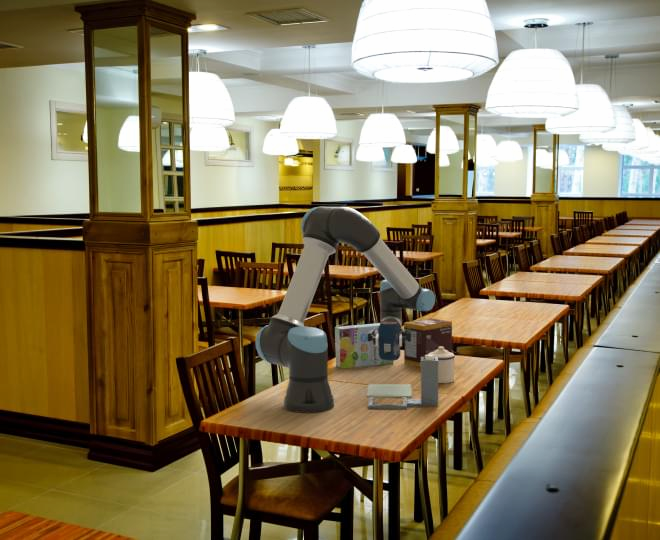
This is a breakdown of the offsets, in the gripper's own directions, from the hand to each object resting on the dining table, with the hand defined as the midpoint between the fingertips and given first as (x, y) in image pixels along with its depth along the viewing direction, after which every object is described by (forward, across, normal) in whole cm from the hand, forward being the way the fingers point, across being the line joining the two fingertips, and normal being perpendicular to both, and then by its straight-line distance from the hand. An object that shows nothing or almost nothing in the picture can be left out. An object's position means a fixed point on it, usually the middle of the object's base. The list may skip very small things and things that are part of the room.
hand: (388, 342), depth 238 cm
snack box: (-42, +10, -18) cm, 47 cm away
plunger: (+9, -12, -8) cm, 17 cm away
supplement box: (-47, -13, -18) cm, 52 cm away
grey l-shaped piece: (+10, -4, -17) cm, 20 cm away
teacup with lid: (-20, -16, -18) cm, 31 cm away
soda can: (-5, 0, -7) cm, 8 cm away
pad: (-5, 0, -17) cm, 18 cm away
